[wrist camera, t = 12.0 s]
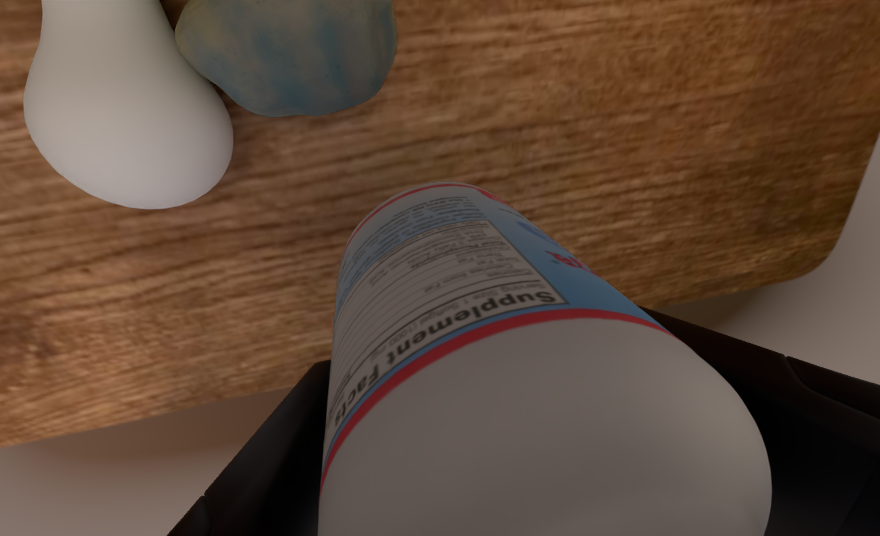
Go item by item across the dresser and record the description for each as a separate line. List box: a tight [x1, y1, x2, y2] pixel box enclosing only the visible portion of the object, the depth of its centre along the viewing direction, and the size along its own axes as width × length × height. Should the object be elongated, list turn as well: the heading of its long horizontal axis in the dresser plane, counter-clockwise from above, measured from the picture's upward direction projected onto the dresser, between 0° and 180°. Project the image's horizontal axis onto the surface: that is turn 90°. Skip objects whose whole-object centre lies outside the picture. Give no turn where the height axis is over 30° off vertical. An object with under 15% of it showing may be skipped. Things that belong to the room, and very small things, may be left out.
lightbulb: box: [23, 0, 233, 209], centre depth 14 cm, size 6×6×11 cm
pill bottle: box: [318, 181, 772, 536], centre depth 7 cm, size 6×6×11 cm
